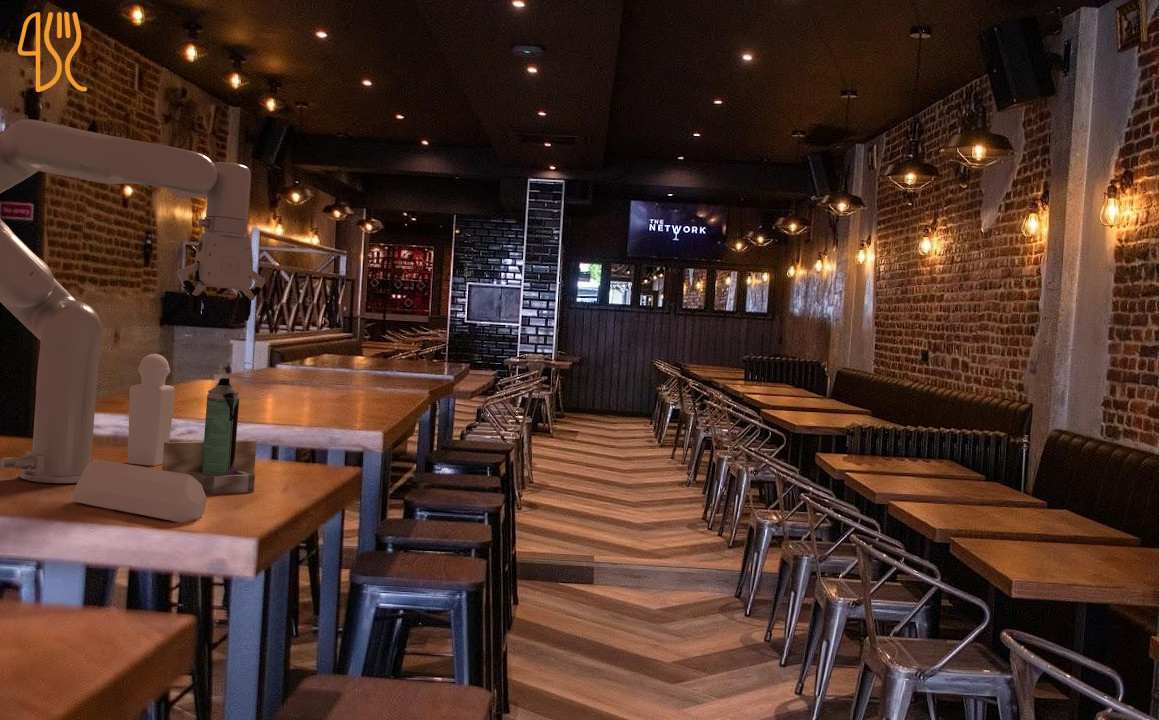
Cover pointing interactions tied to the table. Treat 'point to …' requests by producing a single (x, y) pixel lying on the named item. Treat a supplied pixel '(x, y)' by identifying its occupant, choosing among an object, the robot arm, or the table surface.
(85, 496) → the chamfered beige bar
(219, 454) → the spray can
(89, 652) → the table surface
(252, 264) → the robot arm
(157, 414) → the beige square bottle
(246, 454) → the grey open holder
